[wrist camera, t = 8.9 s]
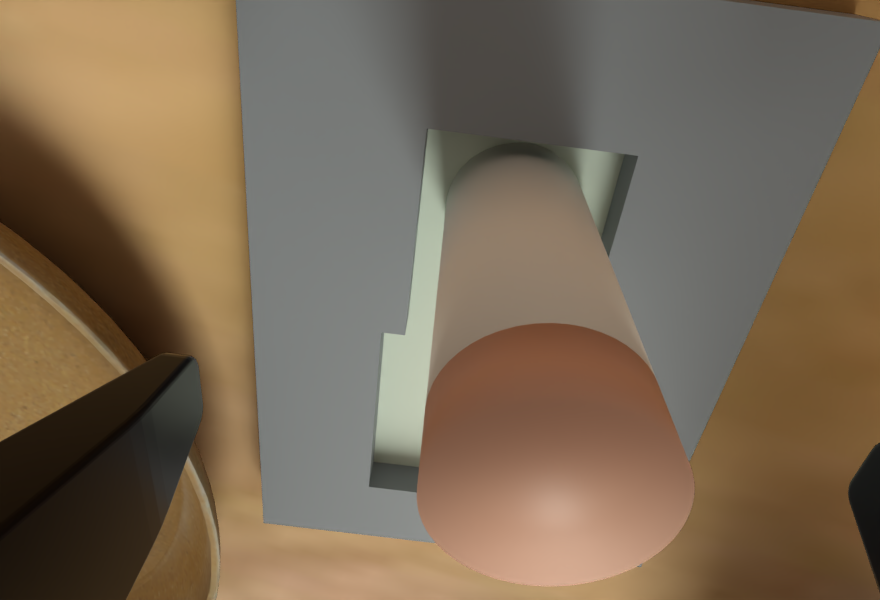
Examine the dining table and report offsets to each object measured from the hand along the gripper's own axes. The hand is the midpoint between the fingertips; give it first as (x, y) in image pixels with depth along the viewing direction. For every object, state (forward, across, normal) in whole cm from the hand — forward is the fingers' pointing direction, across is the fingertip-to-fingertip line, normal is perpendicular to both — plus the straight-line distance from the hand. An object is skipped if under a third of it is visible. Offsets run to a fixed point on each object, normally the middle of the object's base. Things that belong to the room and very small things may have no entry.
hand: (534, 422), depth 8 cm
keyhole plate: (+8, 0, +3) cm, 8 cm away
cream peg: (+7, 0, 0) cm, 7 cm away
